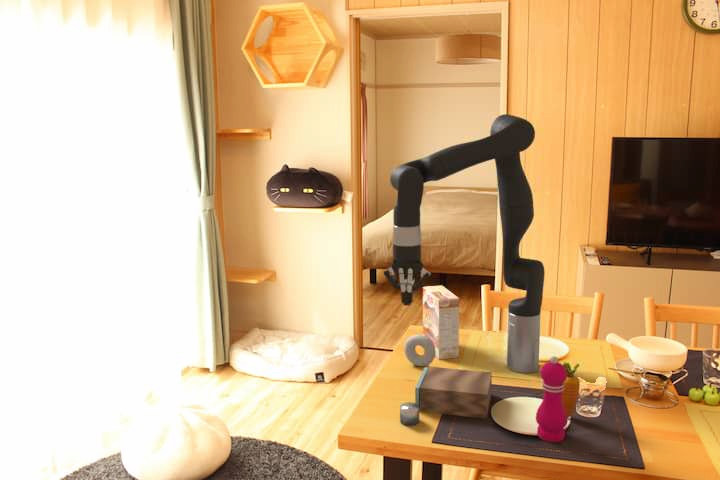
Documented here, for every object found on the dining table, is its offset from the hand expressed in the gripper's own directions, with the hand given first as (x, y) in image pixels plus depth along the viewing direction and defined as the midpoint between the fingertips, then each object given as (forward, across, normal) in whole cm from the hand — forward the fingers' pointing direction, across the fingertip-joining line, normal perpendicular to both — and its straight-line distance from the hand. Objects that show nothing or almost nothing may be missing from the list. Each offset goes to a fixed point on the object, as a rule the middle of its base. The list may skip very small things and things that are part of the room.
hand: (407, 304), depth 175 cm
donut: (+25, 0, +18) cm, 31 cm away
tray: (+25, +13, -4) cm, 28 cm away
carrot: (+25, +42, -6) cm, 49 cm away
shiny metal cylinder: (+25, +4, -17) cm, 30 cm away
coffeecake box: (+25, +4, +32) cm, 41 cm away
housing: (+25, +14, -4) cm, 29 cm away
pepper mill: (+25, +38, -16) cm, 48 cm away
